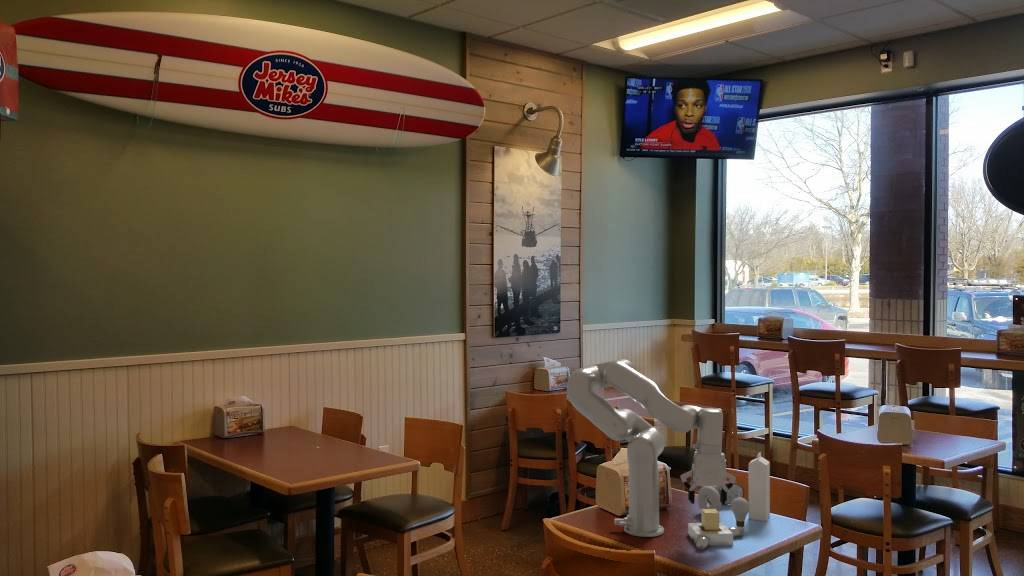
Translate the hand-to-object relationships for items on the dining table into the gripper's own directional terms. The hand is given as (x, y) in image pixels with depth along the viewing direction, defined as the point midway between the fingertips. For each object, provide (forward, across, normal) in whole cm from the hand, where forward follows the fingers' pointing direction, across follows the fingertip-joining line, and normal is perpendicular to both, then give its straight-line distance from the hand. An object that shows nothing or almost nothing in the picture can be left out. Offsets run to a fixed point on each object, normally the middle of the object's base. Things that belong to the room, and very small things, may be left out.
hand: (707, 503), depth 248 cm
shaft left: (+11, -3, -8) cm, 14 cm away
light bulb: (+11, +14, +10) cm, 21 cm away
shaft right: (+11, +9, +2) cm, 14 cm away
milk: (+11, +24, +21) cm, 34 cm away
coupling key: (+11, +1, -1) cm, 11 cm away
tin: (+12, +17, +38) cm, 44 cm away
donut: (+12, +8, +25) cm, 29 cm away
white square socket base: (+11, +1, -1) cm, 11 cm away
